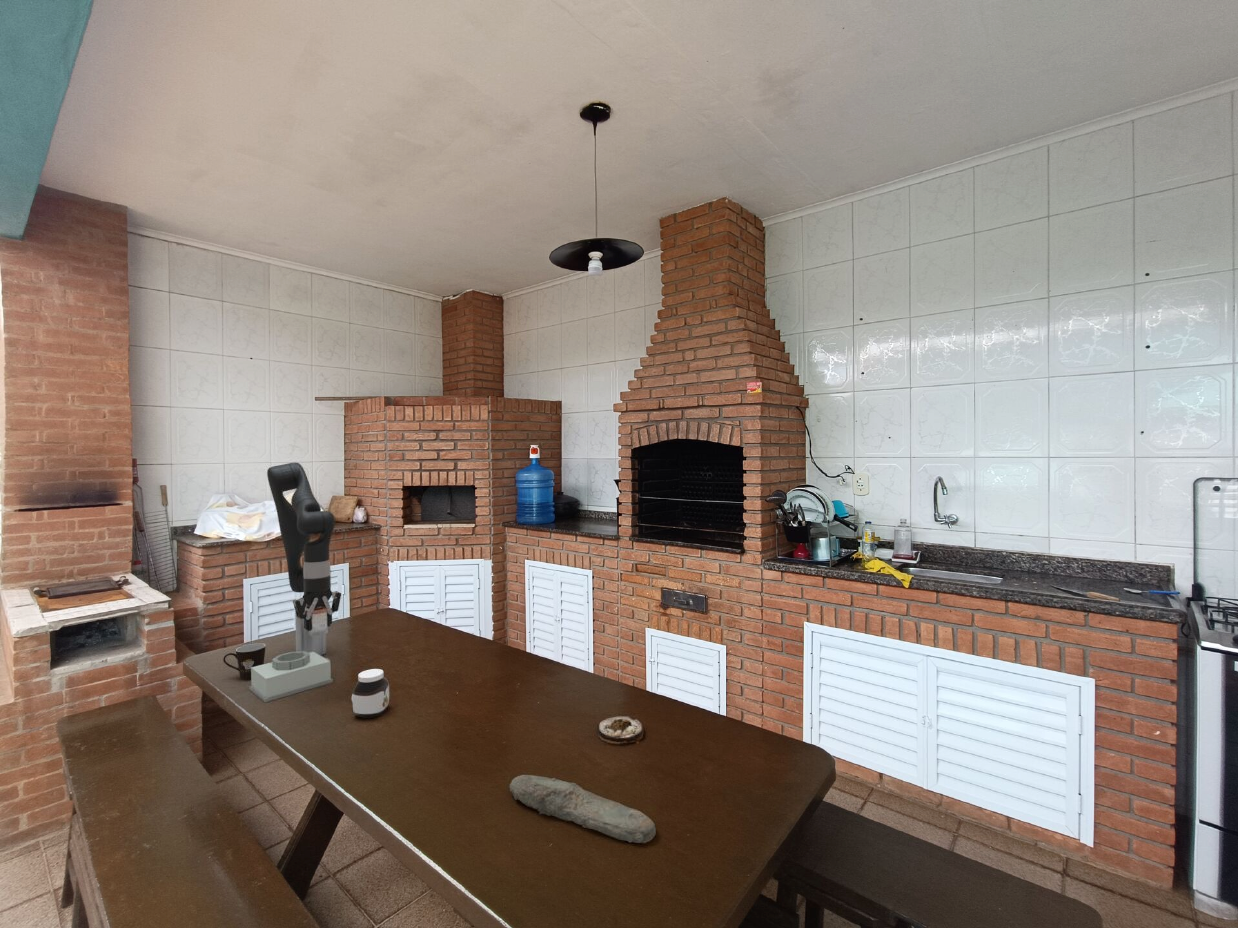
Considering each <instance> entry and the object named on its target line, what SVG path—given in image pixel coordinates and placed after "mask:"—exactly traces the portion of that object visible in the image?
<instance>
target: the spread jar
mask: <svg viewBox="0 0 1238 928" xmlns="http://www.w3.org/2000/svg"><path fill="white" fill-rule="evenodd" d="M357 678H358V679H357V680H358V681H357V683H356V685H355V686H354V688H353V692H352V695H351V702H352V710H353V713H354V714H355V716H358V717H360V718H364V719H370V718H375V717H378V716H380V715H382V714H383V713H385V711H386V709H387V707H388V705H389V703H390V702H389V701H390V683H389V681H388V679H387V678H386V677H384V670H383V669H380V668H371V669H367V670H363V671H361V672H360V673H358V677H357Z"/></svg>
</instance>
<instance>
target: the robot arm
mask: <svg viewBox="0 0 1238 928" xmlns="http://www.w3.org/2000/svg"><path fill="white" fill-rule="evenodd" d="M266 473H267V475H266V476H267V481H268V485H269V488H270V492H271V495H272V499H273V502H274V506H275V510H276V515H277V520H278V526H279V530H280V531H279V532H280V536H281V540H282V544H283V548H284V553H285V556H286V557H285V558H286V564H287V565H286V566H287V573H288V581H289V586H290V588H291V590H292V592H294V593H303V596H302V597H301V598H298V599H293V600H292V604H293V607H294V612H295V613H294V614H295V615H294V616H295V617H294V618H295V652H298V651H305V652H307V653H311V652H315V653H317V654H318V655H320V656H323V655H325V654H327V635H326V634H324V635H320V636H310V635H309V631H311V619H310V617H311V614H312V612H313V611H314V608H317V607H326V608H327V619H328V627H331V625H332V624H333V613H335V612H338V611H339V609H340V603H341V602H340V601H341V599H342V593H341V592H339V591H332V590H331V589H332V585H331V583H332V581H331V580H332V578H331V577H332V576H331V575H332V574H331V573H332V570H331V563H330V545H331V539H332V535H333V532H334V528H335V524H336V517H335V515H334V514H333V513H332V512H331V511H330V510H322V508H321V506H320V504H319V502H318V501H317V499H316V497H315V495H314V494H313V491H312V487H311V484H310V481H309V479H308V476H307V474H306V471H305V469H304V467H303V466H302V464H300V463H299V462H289V463H285V464H284V463H283V464H279V465H274V466H270V467H268V468H267V472H266ZM292 490H294V492H293V494H292V496H291V502H289V501H288V499H286V497H285V495H284V492H287V491H292ZM319 534H320V535H319ZM312 535H319V536H318V538H317V539H315V540H312V541H311V538H312ZM302 556H303V566H302V564H301V559H302ZM331 598H332V603H331V605H330V602H329V600H330V599H331Z"/></svg>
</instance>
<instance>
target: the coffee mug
mask: <svg viewBox="0 0 1238 928" xmlns="http://www.w3.org/2000/svg"><path fill="white" fill-rule="evenodd" d="M266 647H267V645H266V643H260V642H259V643H249V644H244V645H242V646H239V647H237V648H236V649H235V653H233V652H229V653H227V654H225V655H223V660H222V661H223V663H224V664H225V665H226V666H228V667H229V668H232V669H233V670H236V671H238V672H239V679H240V680H241V681H251V667H255V666H259V665H263V664H265V655H266ZM228 656H234V658H236V660H237V666H238V667H236V666H234V665H231V664H229V662H227V661H226V658H227V657H228Z"/></svg>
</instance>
